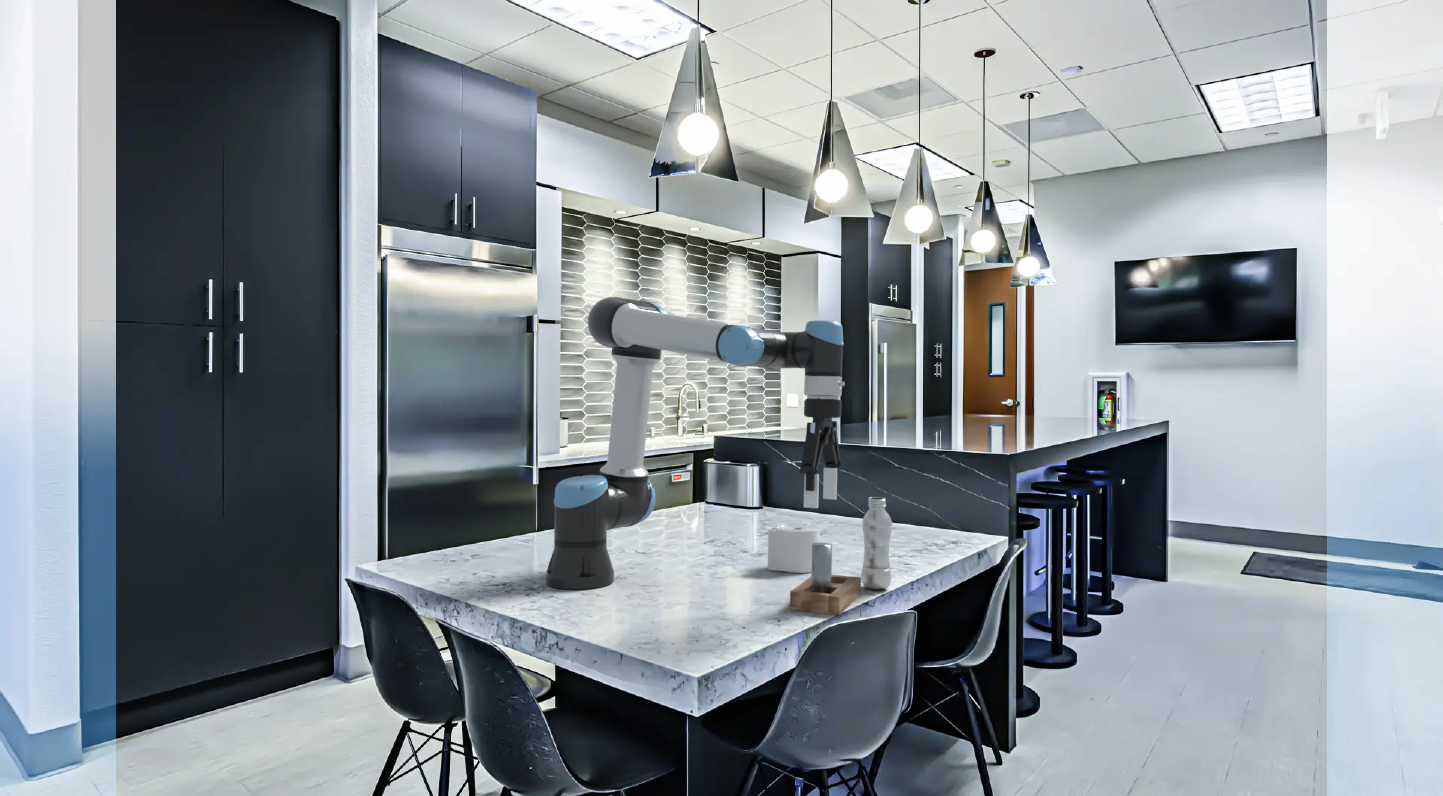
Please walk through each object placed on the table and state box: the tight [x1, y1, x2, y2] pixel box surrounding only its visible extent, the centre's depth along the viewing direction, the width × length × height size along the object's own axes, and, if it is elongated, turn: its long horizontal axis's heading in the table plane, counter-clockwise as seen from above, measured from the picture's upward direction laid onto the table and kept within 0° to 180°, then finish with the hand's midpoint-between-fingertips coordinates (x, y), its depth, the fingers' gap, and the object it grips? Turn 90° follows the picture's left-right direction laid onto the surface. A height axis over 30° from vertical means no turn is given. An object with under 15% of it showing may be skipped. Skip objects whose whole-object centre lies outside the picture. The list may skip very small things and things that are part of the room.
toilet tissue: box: [767, 523, 820, 574], centre depth 191 cm, size 11×12×10 cm
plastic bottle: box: [860, 496, 893, 590], centre depth 172 cm, size 6×7×20 cm
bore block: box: [789, 574, 862, 616], centre depth 161 cm, size 10×18×4 cm, turn 157°
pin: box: [810, 542, 833, 594], centre depth 157 cm, size 4×4×12 cm
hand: (820, 503), depth 157 cm, fingers open, 13 cm apart
